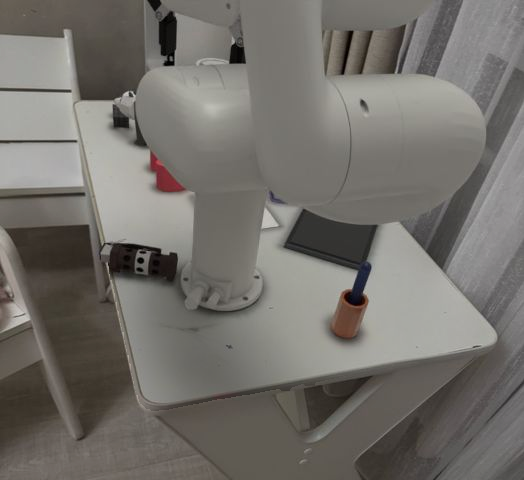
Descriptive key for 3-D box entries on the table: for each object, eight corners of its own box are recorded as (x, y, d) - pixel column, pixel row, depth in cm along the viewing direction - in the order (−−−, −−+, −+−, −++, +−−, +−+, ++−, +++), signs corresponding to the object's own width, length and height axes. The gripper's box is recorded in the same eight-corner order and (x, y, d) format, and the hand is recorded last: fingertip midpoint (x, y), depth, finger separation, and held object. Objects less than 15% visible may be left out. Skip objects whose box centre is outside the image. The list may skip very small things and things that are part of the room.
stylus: (349, 330, 78) (372, 267, 71) (338, 327, 78) (360, 263, 71) (351, 324, 79) (373, 261, 72) (340, 321, 80) (362, 258, 73)
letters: (219, 162, 108) (221, 138, 104) (232, 189, 102) (234, 164, 98) (148, 164, 104) (148, 139, 100) (158, 192, 97) (157, 167, 94)
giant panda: (187, 146, 110) (188, 99, 104) (175, 157, 107) (175, 109, 100) (124, 127, 113) (121, 79, 106) (110, 137, 109) (106, 89, 102)
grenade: (179, 265, 84) (179, 243, 81) (171, 287, 80) (172, 264, 77) (107, 253, 84) (105, 230, 81) (96, 274, 80) (94, 251, 77)
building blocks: (112, 117, 109) (111, 84, 111) (114, 134, 114) (113, 102, 116) (128, 118, 110) (127, 85, 112) (129, 135, 115) (128, 103, 117)
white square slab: (279, 226, 95) (280, 218, 94) (216, 235, 91) (217, 227, 90) (252, 190, 102) (253, 183, 101) (193, 197, 98) (193, 190, 97)
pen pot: (354, 341, 78) (365, 311, 73) (328, 332, 78) (338, 302, 74) (359, 324, 80) (370, 294, 76) (334, 315, 81) (344, 285, 76)
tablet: (362, 271, 89) (364, 267, 89) (283, 247, 91) (284, 242, 90) (381, 212, 103) (382, 208, 102) (312, 192, 105) (313, 188, 104)
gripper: (121, -120, 56) (128, 53, 69) (273, -77, 54) (251, 94, 66) (156, -127, 61) (156, 36, 74) (297, -87, 58) (272, 74, 71)
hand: (201, 63), depth 70 cm, fingers open, 9 cm apart
